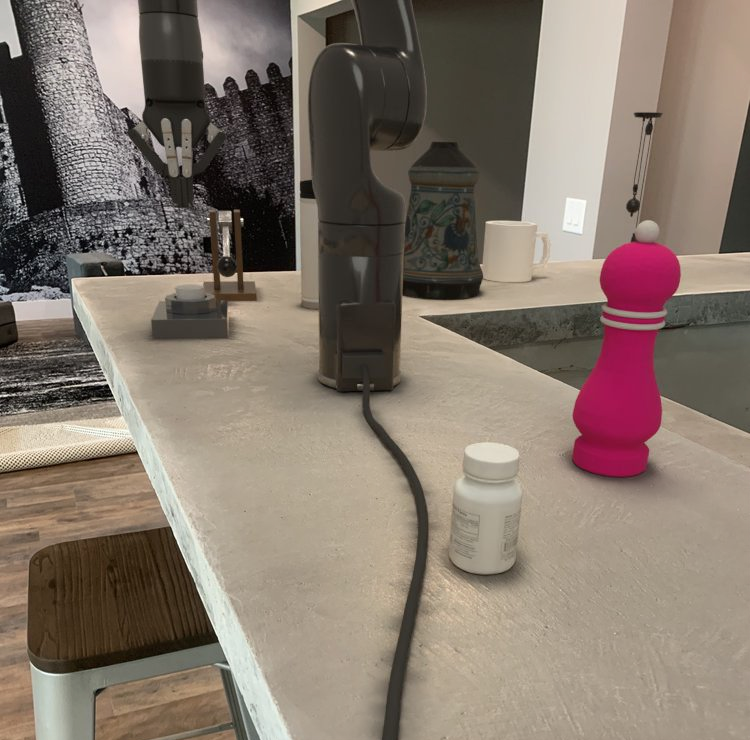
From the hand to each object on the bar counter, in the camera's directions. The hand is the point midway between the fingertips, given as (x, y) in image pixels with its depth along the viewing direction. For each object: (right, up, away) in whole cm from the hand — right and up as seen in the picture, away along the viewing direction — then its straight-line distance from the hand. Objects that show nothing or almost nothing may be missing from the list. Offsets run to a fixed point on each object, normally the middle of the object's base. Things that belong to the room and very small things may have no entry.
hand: (183, 207), depth 103 cm
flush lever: (+1, +2, +24) cm, 24 cm away
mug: (+54, +6, +54) cm, 77 cm away
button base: (0, -15, +7) cm, 16 cm away
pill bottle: (+33, -43, -52) cm, 75 cm away
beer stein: (+36, 0, +40) cm, 54 cm away
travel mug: (+17, -7, +24) cm, 30 cm away
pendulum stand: (0, -3, +31) cm, 31 cm away
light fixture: (+82, +11, +67) cm, 106 cm away
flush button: (0, -11, +5) cm, 12 cm away
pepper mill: (+46, -36, -36) cm, 69 cm away
